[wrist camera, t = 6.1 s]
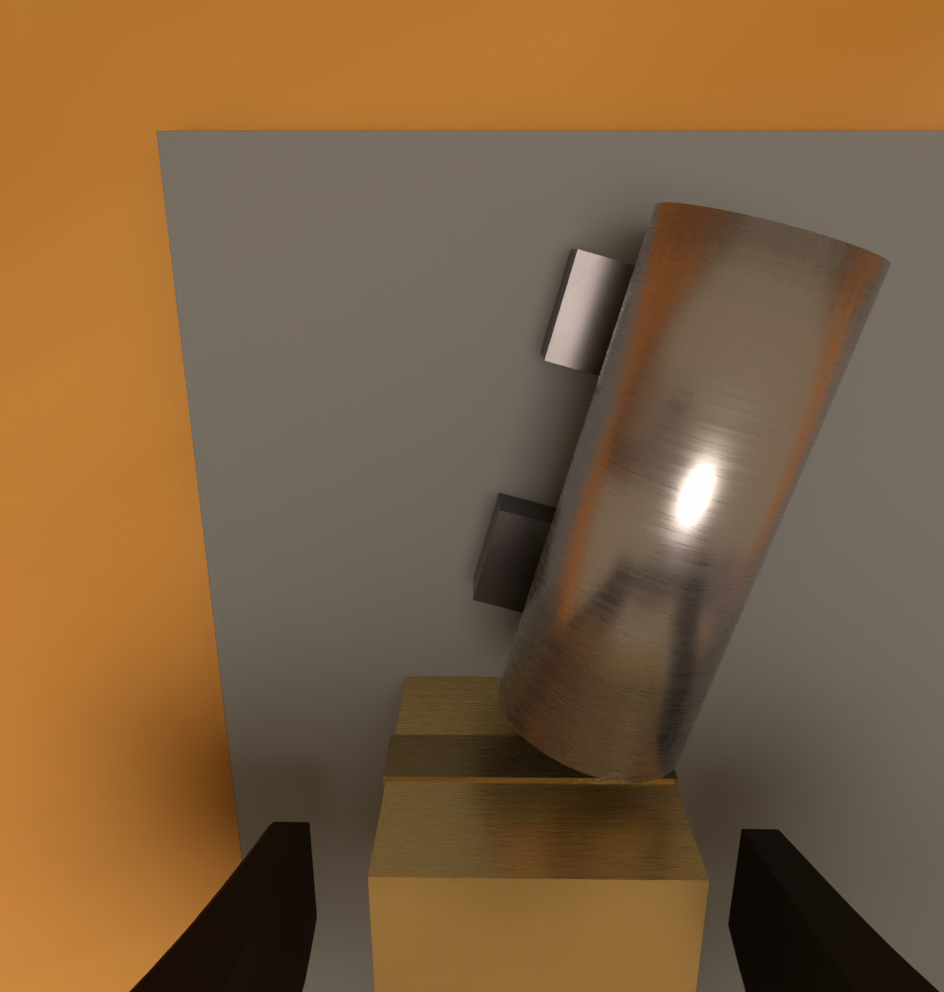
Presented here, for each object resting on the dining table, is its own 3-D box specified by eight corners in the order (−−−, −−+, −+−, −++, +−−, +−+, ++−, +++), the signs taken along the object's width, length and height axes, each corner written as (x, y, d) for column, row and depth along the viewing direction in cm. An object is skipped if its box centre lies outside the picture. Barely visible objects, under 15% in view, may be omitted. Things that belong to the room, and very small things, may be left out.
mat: (1236, 137, 11) (1277, 130, 11) (952, 1111, 18) (967, 1140, 17) (172, 136, 11) (156, 131, 11) (279, 1096, 18) (272, 1125, 17)
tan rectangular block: (640, 675, 14) (713, 877, 9) (626, 864, 15) (684, 1120, 10) (403, 673, 14) (363, 873, 9) (409, 862, 15) (378, 1114, 11)
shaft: (670, 649, 14) (745, 813, 10) (464, 597, 14) (454, 743, 10) (820, 273, 12) (995, 286, 8) (580, 203, 12) (630, 178, 8)
